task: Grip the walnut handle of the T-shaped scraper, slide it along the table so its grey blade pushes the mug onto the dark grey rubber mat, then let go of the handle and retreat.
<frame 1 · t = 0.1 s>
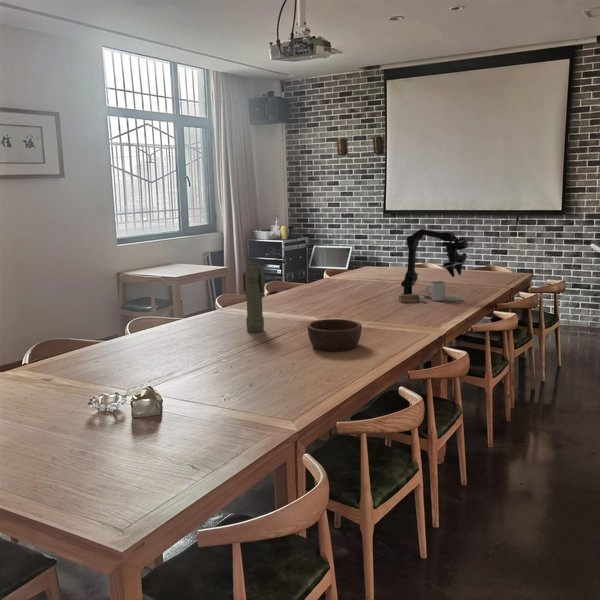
hand: (456, 275, 388), 15 cm above the table, tool pointing down, fingers open, 9 cm apart
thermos: (255, 331, 319), on the table
mat: (448, 299, 393), on the table
mug: (435, 299, 392), on the table, touching mat
scraper: (408, 302, 388), on the table
wooden bowl: (334, 346, 287), on the table
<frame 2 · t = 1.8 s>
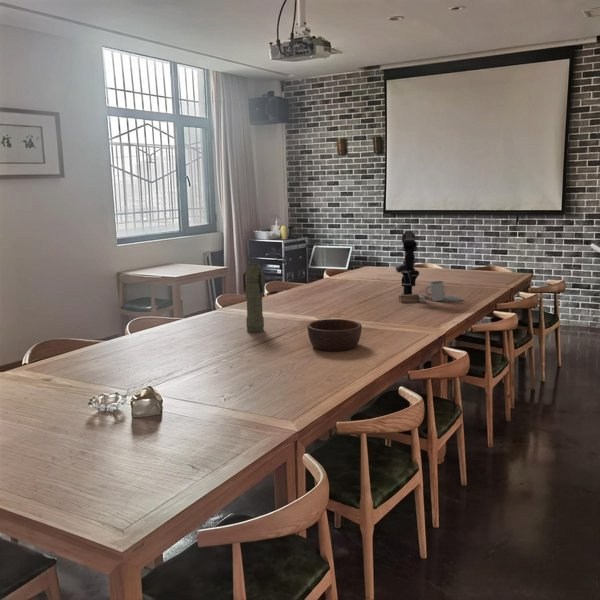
hand: (409, 284, 387), 11 cm above the table, tool pointing down, fingers open, 9 cm apart
mug: (435, 299, 392), on the table, touching mat
everything else where it was.
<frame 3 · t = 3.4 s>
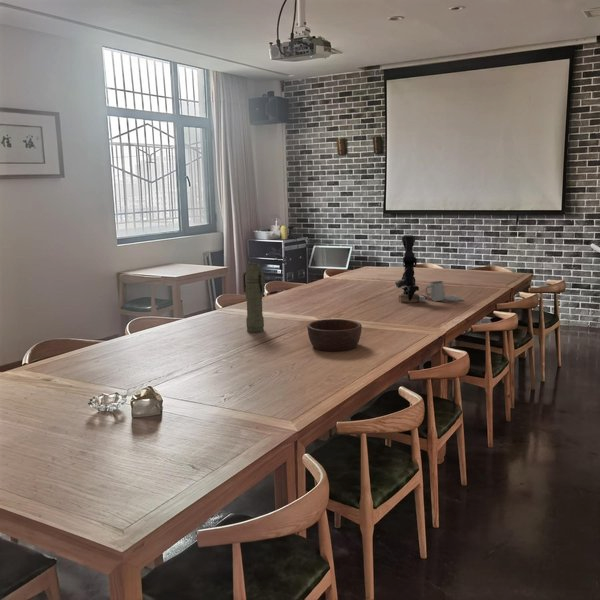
hand: (408, 299, 388), 1 cm above the table, tool pointing down, fingers closed on scraper, 3 cm apart
scraper: (408, 301, 388), on the table, touching gripper
everything else where it was.
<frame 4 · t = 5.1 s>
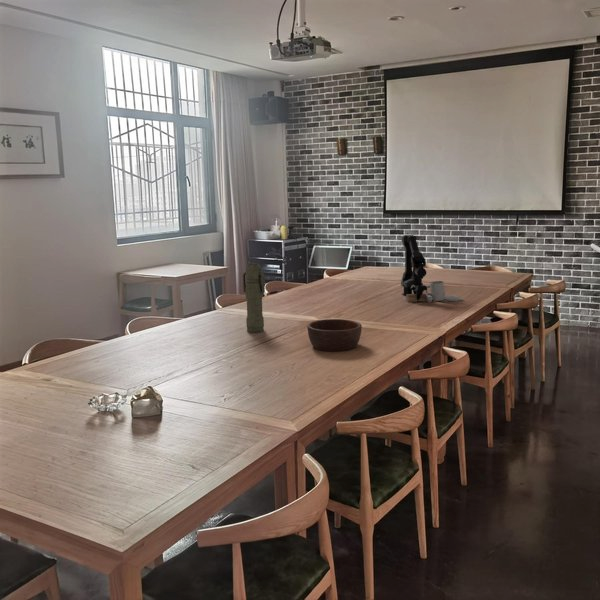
hand: (416, 299, 389), 1 cm above the table, tool pointing down, fingers closed on scraper, 4 cm apart
mug: (436, 299, 392), on the table, touching mat, scraper
scraper: (416, 301, 389), on the table, touching gripper, mug
everything else where it was.
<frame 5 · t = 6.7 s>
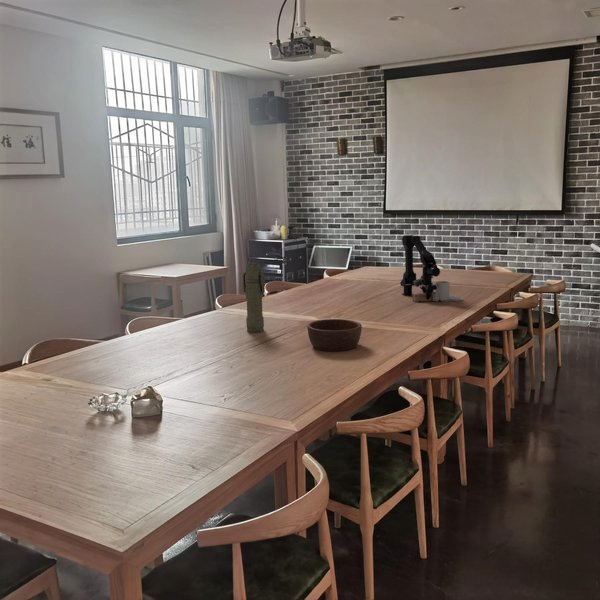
hand: (426, 298, 390), 1 cm above the table, tool pointing down, fingers closed on scraper, 4 cm apart
mug: (439, 299, 392), resting on mat, touching scraper
scraper: (422, 300, 390), on the table, touching gripper, mug
everything else where it was.
when the fingers open (1 cm above the table, at t = 8.1 s): scraper stays where it is, on the table.
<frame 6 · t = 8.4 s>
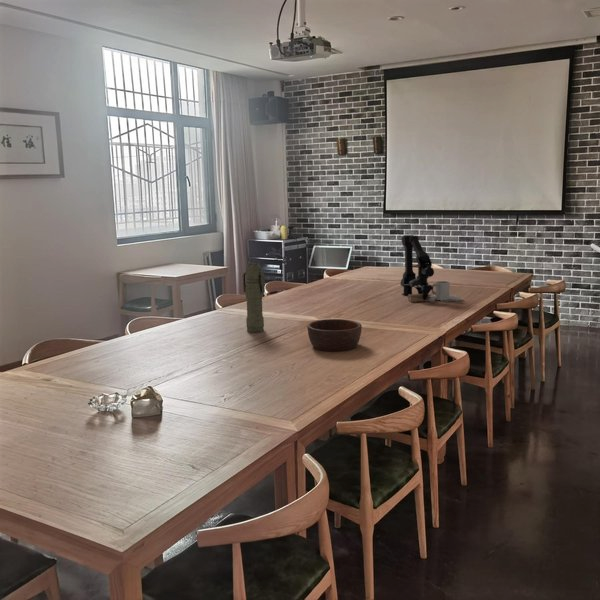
hand: (422, 299, 390), 1 cm above the table, tool pointing down, fingers open, 6 cm apart
mug: (439, 299, 392), resting on mat
scraper: (418, 301, 389), on the table
everything else where it was.
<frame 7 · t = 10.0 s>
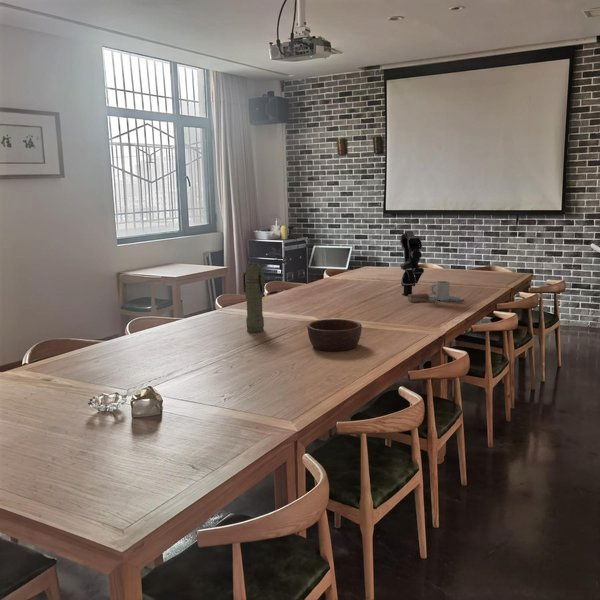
hand: (413, 282, 391), 12 cm above the table, tool pointing down, fingers open, 9 cm apart
nothing on the table moved.
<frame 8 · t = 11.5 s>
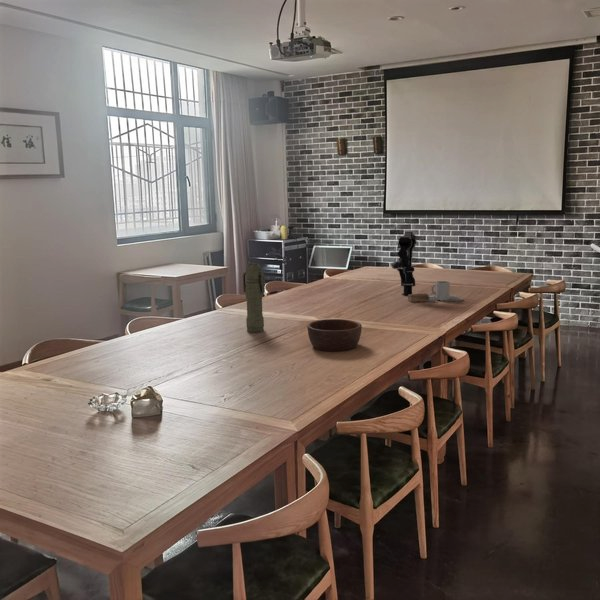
hand: (404, 281, 394), 12 cm above the table, tool pointing down, fingers open, 9 cm apart
nothing on the table moved.
at the end: mug inside the target area (6.3 cm from its centre), resting on mat; mug tilted 0°; the gripper is holding nothing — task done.
